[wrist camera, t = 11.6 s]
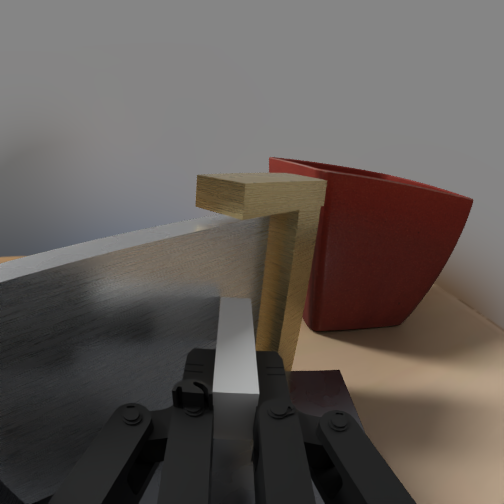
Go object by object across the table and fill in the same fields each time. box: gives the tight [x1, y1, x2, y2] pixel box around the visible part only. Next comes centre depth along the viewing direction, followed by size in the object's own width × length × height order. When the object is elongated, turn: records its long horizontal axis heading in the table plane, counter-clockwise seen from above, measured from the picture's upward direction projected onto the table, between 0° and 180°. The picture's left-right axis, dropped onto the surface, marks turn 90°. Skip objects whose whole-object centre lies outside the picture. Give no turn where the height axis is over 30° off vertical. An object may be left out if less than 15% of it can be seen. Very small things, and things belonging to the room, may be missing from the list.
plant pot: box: [269, 157, 473, 331], centre depth 35 cm, size 19×19×17 cm
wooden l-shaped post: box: [196, 173, 327, 371], centre depth 18 cm, size 3×7×16 cm, turn 139°
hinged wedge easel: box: [0, 214, 270, 504], centre depth 11 cm, size 20×3×11 cm, turn 142°
